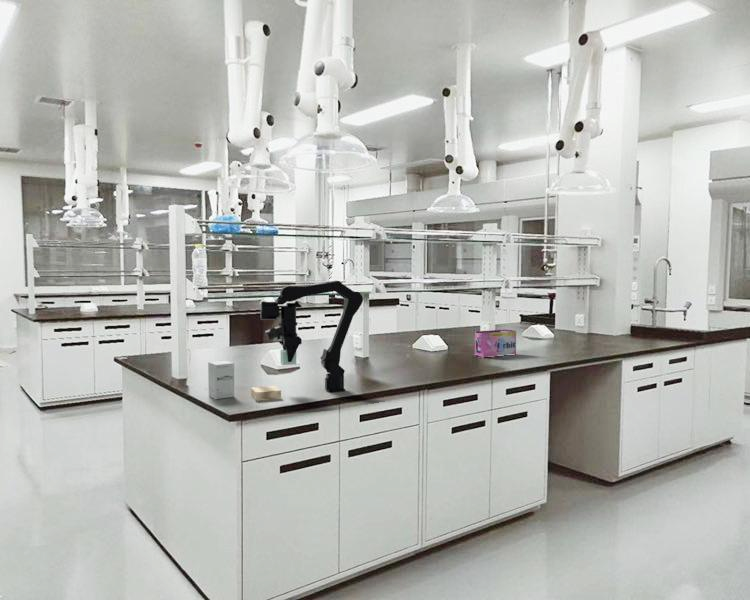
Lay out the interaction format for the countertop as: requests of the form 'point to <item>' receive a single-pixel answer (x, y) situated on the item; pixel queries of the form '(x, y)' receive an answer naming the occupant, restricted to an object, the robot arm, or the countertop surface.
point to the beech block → (265, 393)
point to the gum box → (495, 342)
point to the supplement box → (221, 379)
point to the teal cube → (285, 359)
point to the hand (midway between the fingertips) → (288, 360)
